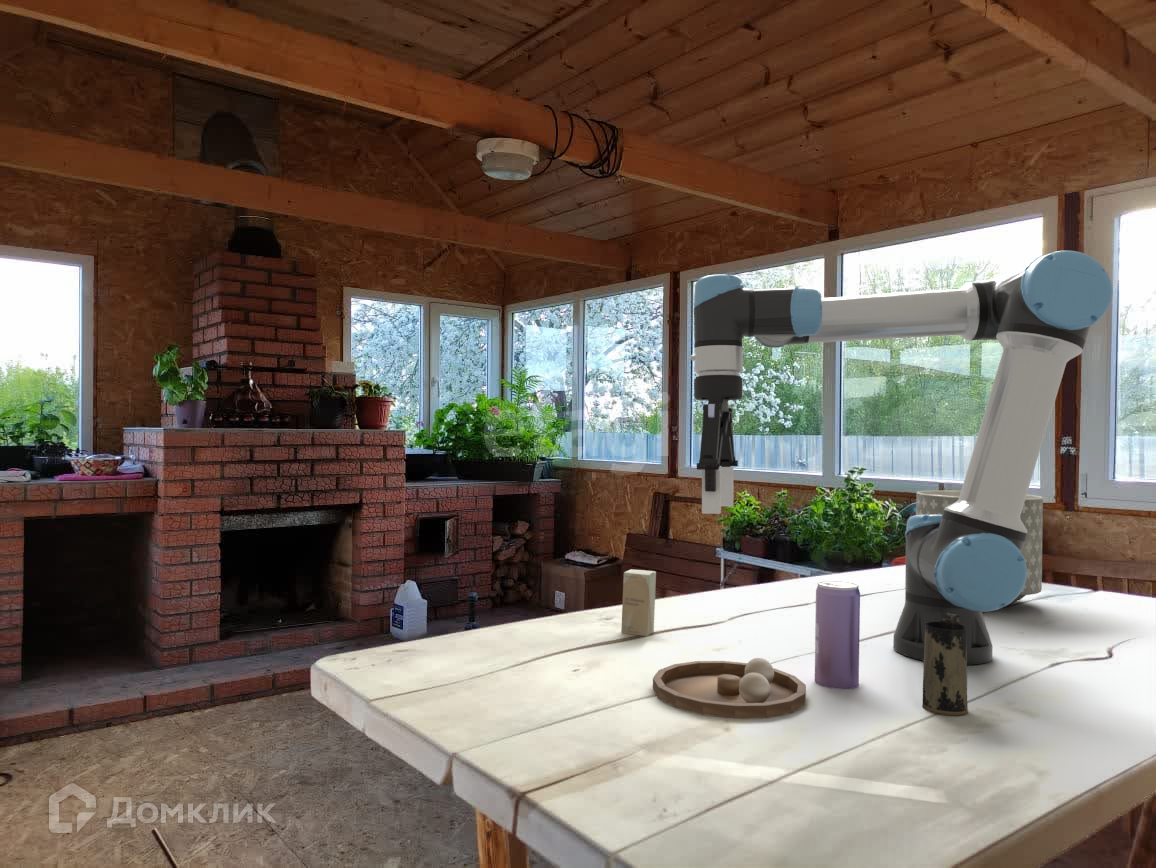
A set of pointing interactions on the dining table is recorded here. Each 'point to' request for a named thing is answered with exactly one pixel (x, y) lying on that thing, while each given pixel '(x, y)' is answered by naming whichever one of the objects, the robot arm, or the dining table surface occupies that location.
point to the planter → (1029, 516)
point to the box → (638, 602)
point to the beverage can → (837, 634)
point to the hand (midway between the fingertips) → (718, 510)
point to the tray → (708, 702)
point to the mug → (945, 667)
